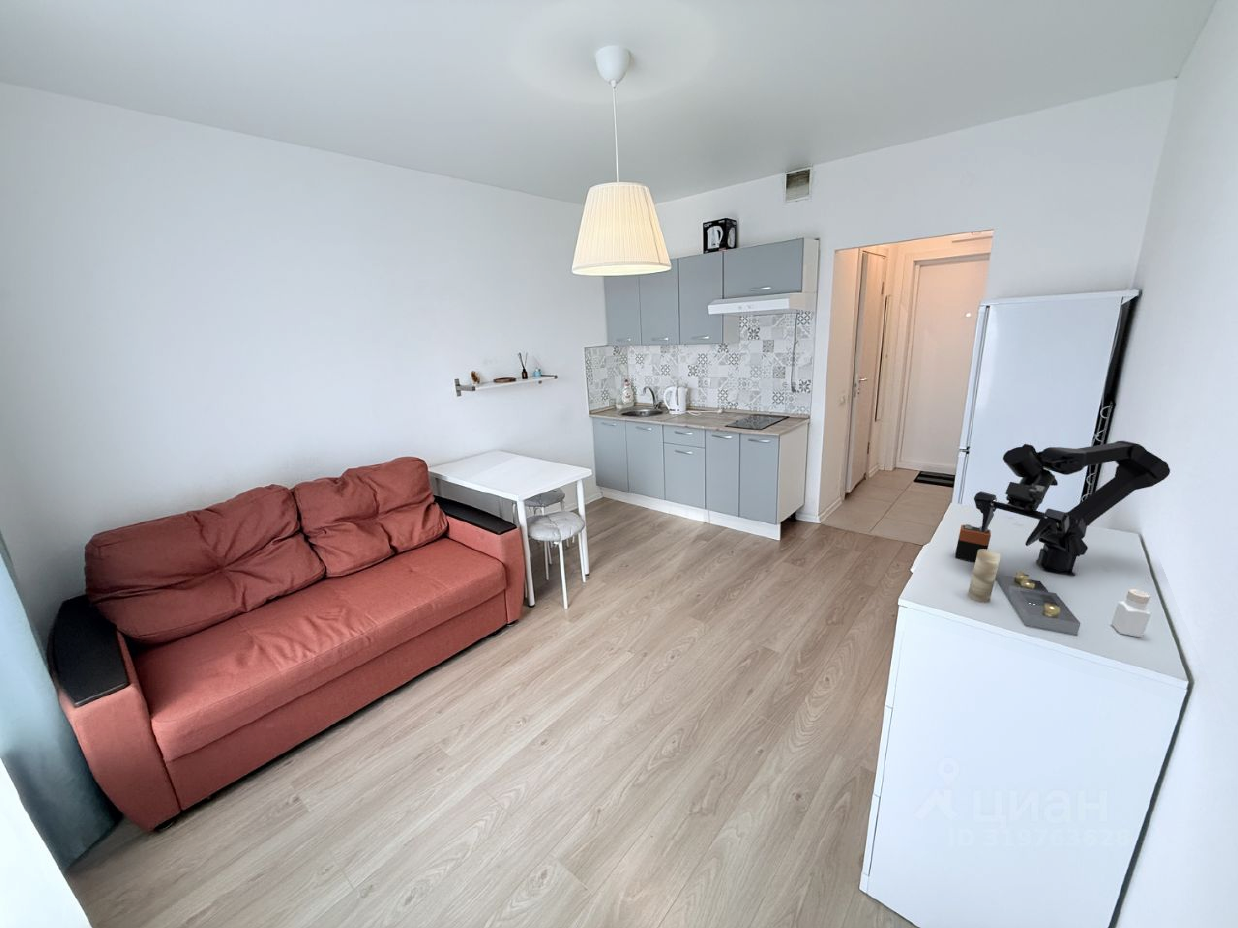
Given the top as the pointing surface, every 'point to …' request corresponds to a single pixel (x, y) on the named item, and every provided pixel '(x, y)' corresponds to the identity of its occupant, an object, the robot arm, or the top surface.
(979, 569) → the pin
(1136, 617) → the salt shaker
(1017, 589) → the mounting plate
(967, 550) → the battery
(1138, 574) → the top surface
